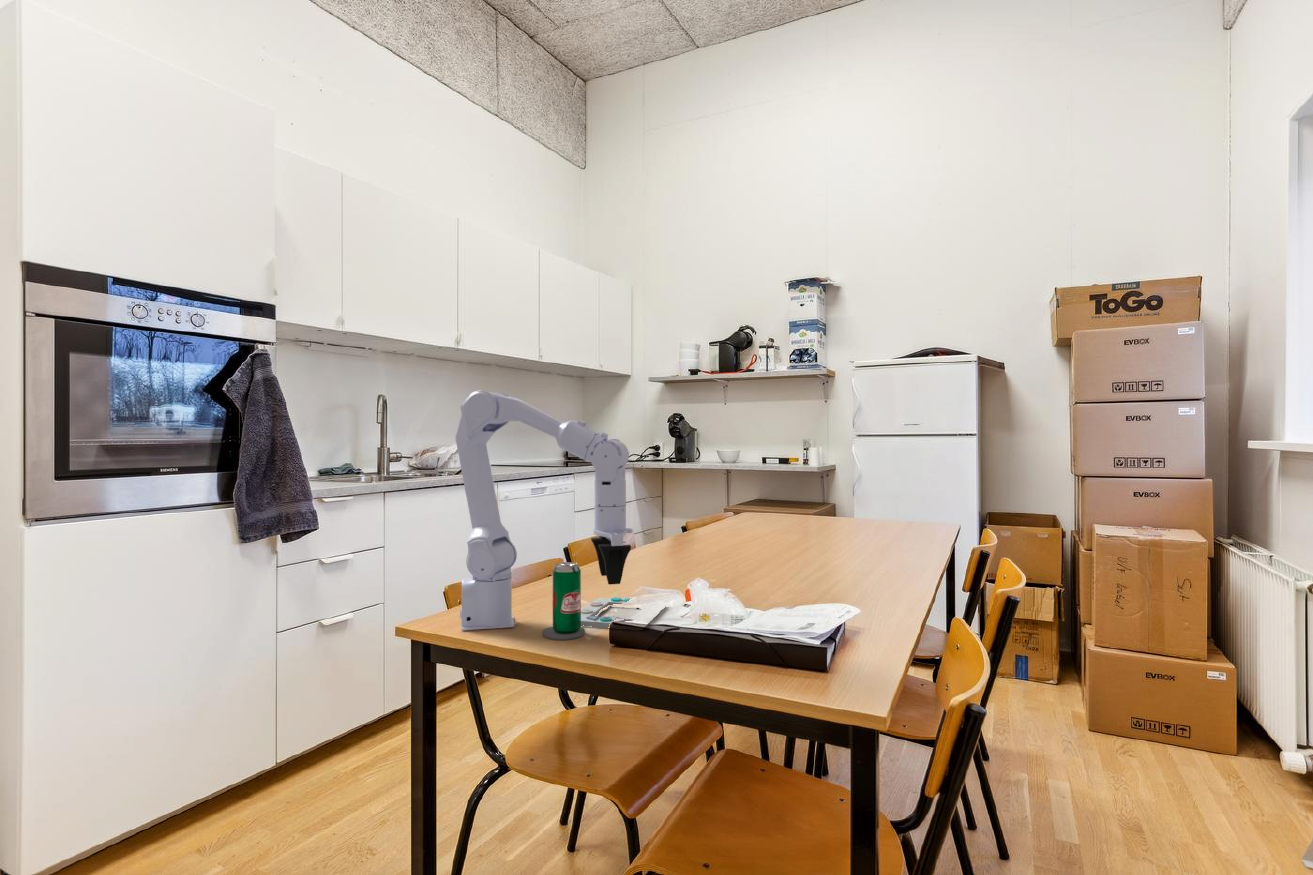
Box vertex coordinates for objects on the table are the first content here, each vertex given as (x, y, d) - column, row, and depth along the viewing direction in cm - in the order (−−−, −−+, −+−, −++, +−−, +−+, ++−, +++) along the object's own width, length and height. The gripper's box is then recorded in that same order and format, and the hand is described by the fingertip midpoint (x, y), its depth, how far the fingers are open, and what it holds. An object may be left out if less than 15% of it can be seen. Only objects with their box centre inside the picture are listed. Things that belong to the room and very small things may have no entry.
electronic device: (641, 622, 125) (565, 617, 129) (641, 635, 125) (565, 629, 129) (665, 599, 143) (598, 595, 147) (665, 610, 143) (598, 606, 147)
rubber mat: (544, 641, 119) (544, 638, 119) (541, 629, 126) (541, 626, 126) (587, 638, 121) (587, 635, 121) (581, 626, 128) (581, 623, 128)
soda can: (563, 636, 120) (563, 568, 120) (547, 630, 124) (546, 564, 124) (586, 630, 123) (586, 564, 123) (569, 625, 127) (569, 560, 127)
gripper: (640, 508, 120) (640, 586, 120) (624, 501, 134) (624, 570, 134) (600, 509, 118) (600, 588, 118) (588, 502, 132) (588, 572, 132)
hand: (610, 579), depth 126 cm, fingers open, 7 cm apart
